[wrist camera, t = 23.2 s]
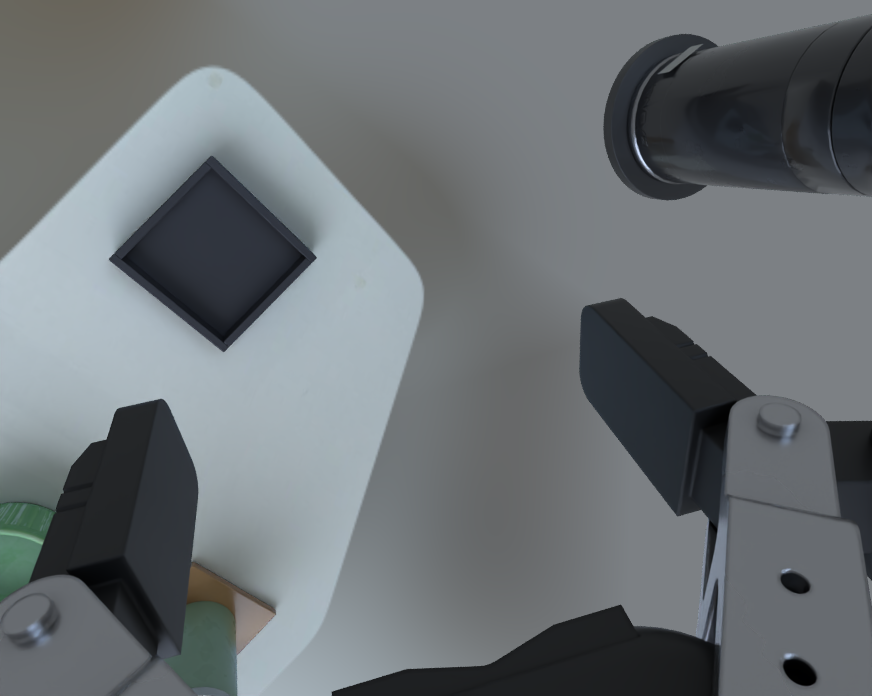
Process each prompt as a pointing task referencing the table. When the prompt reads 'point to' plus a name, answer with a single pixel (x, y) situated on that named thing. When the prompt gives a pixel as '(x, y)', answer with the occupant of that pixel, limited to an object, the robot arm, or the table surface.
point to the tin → (208, 650)
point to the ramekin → (20, 543)
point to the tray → (214, 255)
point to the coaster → (230, 603)
